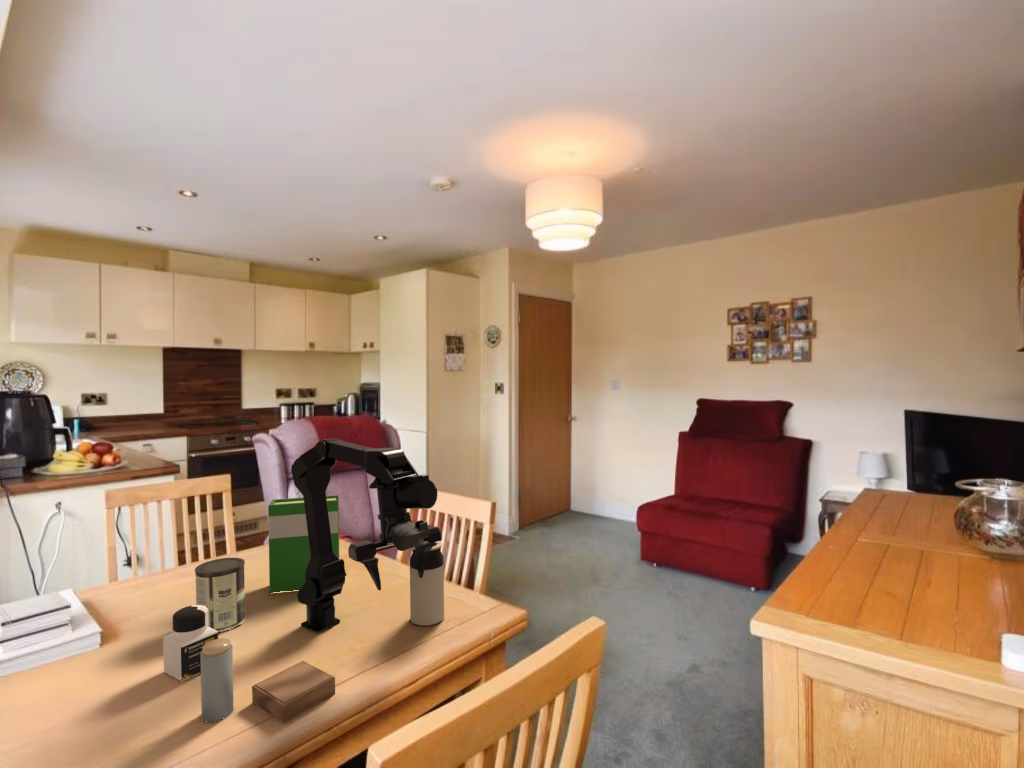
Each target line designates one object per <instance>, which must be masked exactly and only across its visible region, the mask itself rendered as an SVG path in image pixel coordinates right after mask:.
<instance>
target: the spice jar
mask: <svg viewBox="0 0 1024 768" xmlns="http://www.w3.org/2000/svg"><path fill="white" fill-rule="evenodd" d="M233 653H234V652H233V645H232V644H231V639H229V638H224V637H223V638H218V639H215V640H212V641H210V642H208V643H206V644H205V645H203V647H202V652H201V654H200V656H201V674H200V695H201V696H200V701H201V702H200V703H201V704H200V706H201V711H200V712H201V720H202V719H203V720H204V721H207V722H213V723H216V722H215V721H218V722H220V721H219V720H221V719H223V718H225V719H227V718H228V717H230V716H231V715H232V714H233V712H234V709H235V708H234V665H233V664H234V657H233V656H234V655H233ZM231 713H232V714H231ZM230 714H231V715H230ZM229 715H230V716H229ZM227 716H228V717H227ZM226 717H227V718H226ZM223 720H224V719H223ZM204 721H203V722H204ZM221 721H222V720H221Z"/></svg>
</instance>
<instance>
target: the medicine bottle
mask: <svg viewBox="0 0 1024 768" xmlns="http://www.w3.org/2000/svg"><path fill="white" fill-rule="evenodd" d="M215 639H219V633H218V631H217V630H214V629H212V628H210V627H208V608H207V607H206V606H202V605H196V604H193V605H188V606H184V607H182V608H180V609H179V610H177V611H175V612H174V614H173V615H172V633H170V634H167V635H164V637H163V638H162V642H163V643H162V644H163V645H162V648H163V672H164V671H165V672H166V674H167V673H168V674H167V675H169V674H170V675H171V677H172V676H173V678H174V677H175V678H174V679H176V680H177V679H178V680H177V681H179V680H180V681H179V682H181V681H184V682H186V681H188V680H190V679H192V678H194V677H196V675H197V676H199V675H201V674H200V673H201V656H200V654H201V652H202V647H203V645H205V644H206V643H208V642H210V641H212V640H215ZM165 672H164V673H165ZM198 674H199V675H198ZM170 675H169V676H170ZM193 676H194V677H193ZM191 677H192V678H191ZM189 678H190V679H189ZM187 679H188V680H187ZM185 680H186V681H185Z"/></svg>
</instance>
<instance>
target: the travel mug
mask: <svg viewBox="0 0 1024 768" xmlns="http://www.w3.org/2000/svg"><path fill="white" fill-rule="evenodd" d="M436 543H437V545H436V546H433V547H432V549H431V550H430V552H429V554H428V557H427V561H426V565H425V569H424V573H423V577H422V578H419V575H418V571H417V563H416V554H415V547H413V548H411V552H412V553H411V555H410V557H409V588H410V589H409V596H410V597H409V602H410V603H409V605H410V616H409V617H410V622H411V623H412V624H413V625H414V624H415V625H416V626H423V627H427V626H433V625H437V624H438V623H441V622H442V621H443V620H444V619H445V576H444V574H445V572H444V570H445V567H444V565H445V563H444V559H445V558H444V554H443V553H442V546H443V542H442V541H437V542H436Z"/></svg>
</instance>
